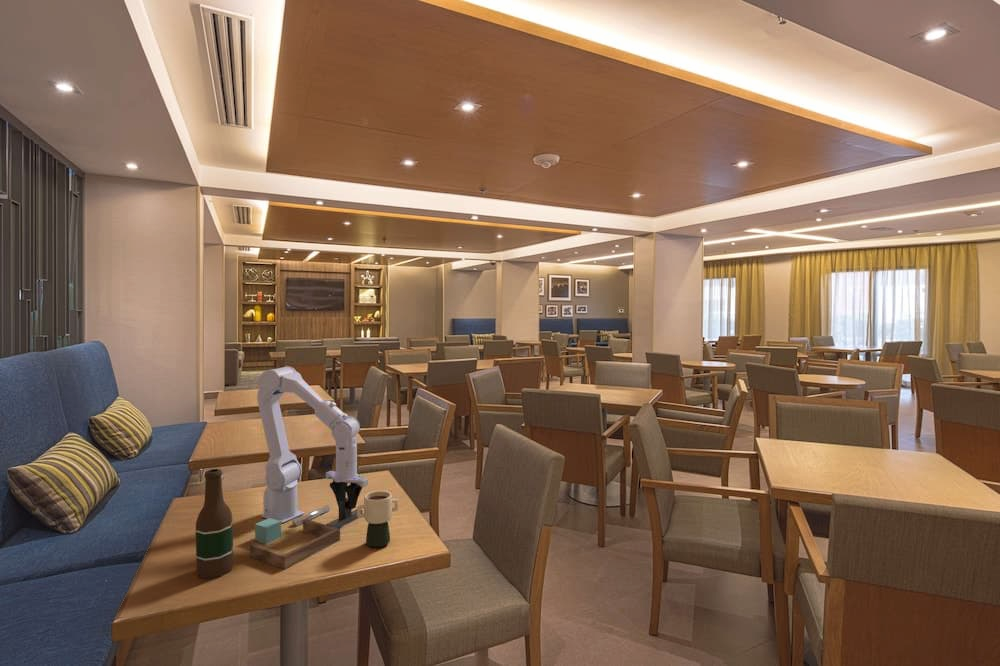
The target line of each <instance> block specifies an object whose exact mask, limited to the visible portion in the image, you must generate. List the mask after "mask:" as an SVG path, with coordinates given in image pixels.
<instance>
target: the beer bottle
mask: <svg viewBox="0 0 1000 666" xmlns="http://www.w3.org/2000/svg"><path fill="white" fill-rule="evenodd" d="M222 475H223V471H222V469H220V468H211V469H209V470H206V471H205V472H204V476H203V477H204V478H205V485H204V504H203V506H202V508H201V509H200V511H199V513H198V515H197V519H196V522H195V558H196V575H197V577H199V578H202V579H205V580H209V579H216V578H220V577H223V576H224V574H225V575H227V574H228V573H230V572H231V571H232V569H233V565H234V530H233V529H234V528H233V525H234V524H233V523H234V522H233V513H232V511H231V509H230V507H229V506H228V504H226V502H225V500H224V494H223V486H222V485H223V484H222ZM222 575H223V576H222Z"/></svg>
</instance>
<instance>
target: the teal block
mask: <svg viewBox="0 0 1000 666" xmlns="http://www.w3.org/2000/svg"><path fill="white" fill-rule="evenodd" d="M254 538H255V539H254V540H255V541H256V540H257V541H256V542H259V541H260V542H259V543H262V544H266V545H268V544H269V543H272V542H274V541H276V540H279V539H280V538H282V523H281V521H278V520H275V519H272V518H268V519H267V518H265V519H264V520H261V521H259V522H257V523H255V524H254ZM278 538H279V539H278Z"/></svg>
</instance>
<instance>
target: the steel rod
mask: <svg viewBox="0 0 1000 666" xmlns="http://www.w3.org/2000/svg"><path fill="white" fill-rule="evenodd" d="M330 510H331V508H330V506H329V504H326V505H324V506H321V507H319V508H317V509H314V510H312V511H311V512H308V513H306V514H302V515H300V517H299V516H298V517H296V518H293V519H292V526H294V525H295V527H298V526H300V525H303V521H304V520H306V519H307V520H311V521H312V520H313V519H316V518H318V517H319V515H320V516H322V515H324V514H326V513H328V511H329V512H330ZM317 516H318V517H317Z"/></svg>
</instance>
